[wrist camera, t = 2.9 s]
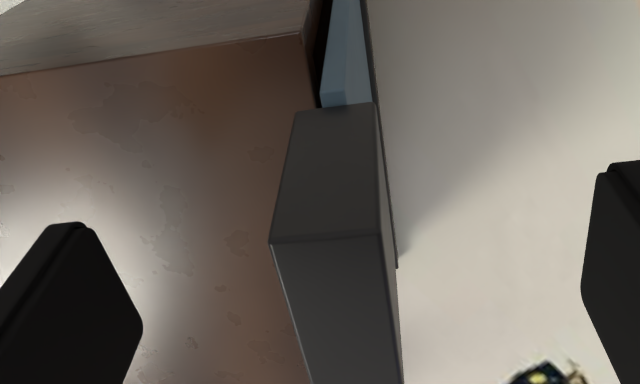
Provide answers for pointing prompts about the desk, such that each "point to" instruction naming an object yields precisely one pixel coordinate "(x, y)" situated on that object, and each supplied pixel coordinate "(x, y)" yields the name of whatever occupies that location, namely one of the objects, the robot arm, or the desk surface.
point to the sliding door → (339, 224)
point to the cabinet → (167, 162)
